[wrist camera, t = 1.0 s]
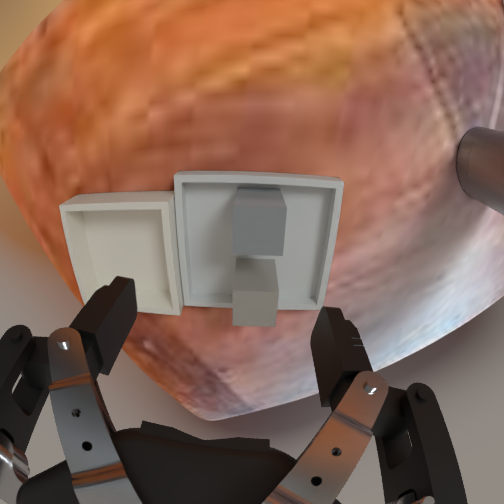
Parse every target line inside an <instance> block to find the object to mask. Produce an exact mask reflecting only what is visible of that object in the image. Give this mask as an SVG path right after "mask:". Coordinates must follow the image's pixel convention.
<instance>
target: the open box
mask: <svg viewBox="0 0 504 504" xmlns="http://www.w3.org/2000/svg"><path fill="white" fill-rule="evenodd" d="M59 207H60V212H61V218H62V223H63V228H64V233H65V237H66V242H67V246H68V250H69V254H70V258H71V262H72V266H73V269H74V273H75V276H76V280H77V283H78V286H79V289H80V293H81V296H82V299H83V302H84V305H85V304H86V303H87V301H88V300H90V297H91V296H92V295H93V294H94V292H95V291H96V290H98V289H99V288H101V287H102V286H104V285H108V286H109V285H110V284H111V282H112V281H113V280H114V278H115V277H116V276H122V277H127V278H132V279H134V281H135V289H136V299H137V312H147V313H157V314H168V315H181V312H182V309H183V306H184V297H183V289H182V280H181V271H180V261H179V250H178V238H177V225H176V209H175V191H139V192H113V193H94V194H79V195H76V196H74V197H73V198H71V199H69V200H67V201H66V202H64V203H62V204H60V205H59Z"/></svg>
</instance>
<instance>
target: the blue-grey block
mask: <svg viewBox="0 0 504 504" xmlns="http://www.w3.org/2000/svg"><path fill="white" fill-rule="evenodd" d="M286 215H287V207H286V204H285V201H284V198H283V195H282V193H281V190H280V189H273V188H249V187H237V191H236V195H235V199H234V204H233V251H232V254H238V255H266V256H283V249H284V238H285V227H286Z"/></svg>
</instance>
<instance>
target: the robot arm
mask: <svg viewBox="0 0 504 504" xmlns="http://www.w3.org/2000/svg"><path fill="white" fill-rule="evenodd" d="M457 172H458V177H459V181H460V183H461V186H462V188H463V189H464V191H465V192H466V193H467V194H468V195H469V196H471V197H472V198H474V199H476V200H478V201H480V202H481V203H483V204H485V205H487V206H489V207H490V208H492V209H494V210H495V211H497V212H499V213H500V214H502V215H504V132H502V131H498V130H493V129H488V128H483V127H475V128H472V129H471V130H469V131H468V132H467V133H466V134H465V136H464V137H463V139H462V141H461V144H460V146H459V150H458V155H457ZM136 316H137V299H136V289H135V281H134V279H132V278H127V277H122V276H116V277H115V278H114V280H113V281H112V282H111V284H110V285H109V286H108V285H104V286H102V287H101V288H99V289H98V290H96V291H95V292H94V294H93V295H92V296H91V297H90V300H88V301H87V303H86V304H85V306H84V307H83V308H82V309H81V311H80V312H79V314H78V315H77V316H76V318H75V319H74V320H73V322H72V323H71V325H70V326H69V327H65V328H60V329H57V330H55V331H54V332H52V334H50V336H49V337H36V336H35V337H33V336H32V334H31V331H30V329H29V328H28V327H26V326H24V325H16V326H13V327H11V328H9V329H8V330H7V331H6V332H5V334H4V335H3V337H2V338H1V339H0V499H2V500H3V501H5V502H6V503H8V504H341V503H340V502H339V501H338V500H337V499H336V497H337V496H338V494H339V493H340V491H341V490H342V488H343V487H344V485H345V484H346V482H347V480H348V479H349V477H350V475H351V474H352V472H353V470H354V469H355V467H356V465H357V464H358V462H359V460H360V458H361V456H362V455H363V453H364V451H365V449H366V447H367V445H368V443H369V441H370V439H371V437H372V435H374V436H375V440H376V446H377V451H378V457H379V463H380V469H381V476H382V483H383V490H384V498H385V504H468V503H467V499H466V494H465V489H464V485H463V481H462V477H461V473H460V469H459V465H458V462H457V458H456V455H455V451H454V448H453V445H452V442H451V439H450V436H449V432H448V430H447V427H446V424H445V421H444V418H443V415H442V413H441V410H440V407H439V405H438V402H437V399H436V397H435V394H434V392H433V391H432V390H431V389H430V388H429V387H428V386H427V385H425V384H422V383H413V384H412V385H410V386H409V387H408V389H407V390H402V389H398V388H393V387H390V386H388V384H387V382H386V380H385V379H384V378H383V377H382V376H381V375H380V374H378V373H376V372H373V370H372V367H371V364H370V361H369V359H368V356H367V353H366V351H365V348H364V346H363V343H362V340H361V339H360V335H359V332H358V330H357V328H356V327H355V326H354V325H353V324H352V322H351V321H350V320H345V319H344V316H343V313H342V311H341V309H340V308H335V307H325V306H323V307H322V308H321V310H320V313H319V315H318V318H317V321H316V324H315V326H314V329H313V331H312V335H311V351H312V356H313V361H314V367H315V372H316V378H317V383H318V389H319V394H320V401H321V406H322V407H331V410H332V413H331V414H330V415H329V417H328V418H327V420H326V421H325V423H324V424H323V426H322V427H321V428H320V430H319V431H318V433H317V434H316V435H315V437H314V438H313V439H312V441H311V442H310V443H309V444H308V446H307V447H306V448H305V450H304V451H303V452H302V453H301V454H300V456H299V457H298V458H297V459H294V458H293V457H291V456H290V455H288V454H286V453H284V452H282V451H280V450H277V449H275V448H271V447H270V445H269V444H270V440H269V439H253V438H240V437H236V438H227V439H217V440H202V439H199V438H197V437H194V436H192V435H189V434H187V433H184V432H182V431H180V430H177V429H175V428H173V427H168V426H164V425H159V424H155V423H151V422H147V421H142V424H141V428H129V429H123V430H120V431H116V429H115V427H114V425H113V423H112V421H111V419H110V416H109V413H108V411H107V408H106V406H105V403H104V400H103V397H102V394H101V392H100V389H99V385H98V382H97V380H96V379H97V377H98V375H99V373H102V374H105V375H109V373H110V371H111V369H112V367H113V365H114V362H115V360H116V358H117V356H118V354H119V352H120V350H121V348H122V346H123V344H124V342H125V340H126V338H127V336H128V334H129V332H130V330H131V328H132V326H133V324H134V322H135V320H136ZM20 374H21V375H22V377H21V379H20V380H19V382H18V384H17V386H16V388H15V390H14V392H13V393H12V388H13V386H14V384H15V382H16V380H17V379H18V377H19V375H20ZM49 393H50V398H51V404H52V408H53V413H54V418H55V422H56V426H57V430H58V434H59V437H60V441H61V444H62V448H63V451H64V454H65V457H66V460H64V461H63V462H61V463H59V464H57V465H55V466H53V467H51V468H49V469H47V470H45V471H43V472H41V473H39V474H37V475H35V476H33V477H31V478H29V479H28V475H29V474H30V469H29V467H28V460H27V457H26V455H25V451H26V448H27V446H28V443H29V440H30V438H31V435H32V432H33V430H34V427H35V425H36V422H37V420H38V417H39V415H40V413H41V410H42V408H43V406H44V404H45V401H46V399H47V397H48V395H49ZM408 432H409V434H408ZM409 436H410V438H409ZM410 440H411V442H410ZM411 444H412V446H411Z"/></svg>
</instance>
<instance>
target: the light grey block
mask: <svg viewBox="0 0 504 504" xmlns="http://www.w3.org/2000/svg"><path fill="white" fill-rule="evenodd" d="M278 298H279V287H278V280H277V272H276V264H275V259H252V258H236V265H235V274H234V282H233V290H232V305H233V326H262V327H275V325H276V316H277V307H278Z"/></svg>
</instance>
